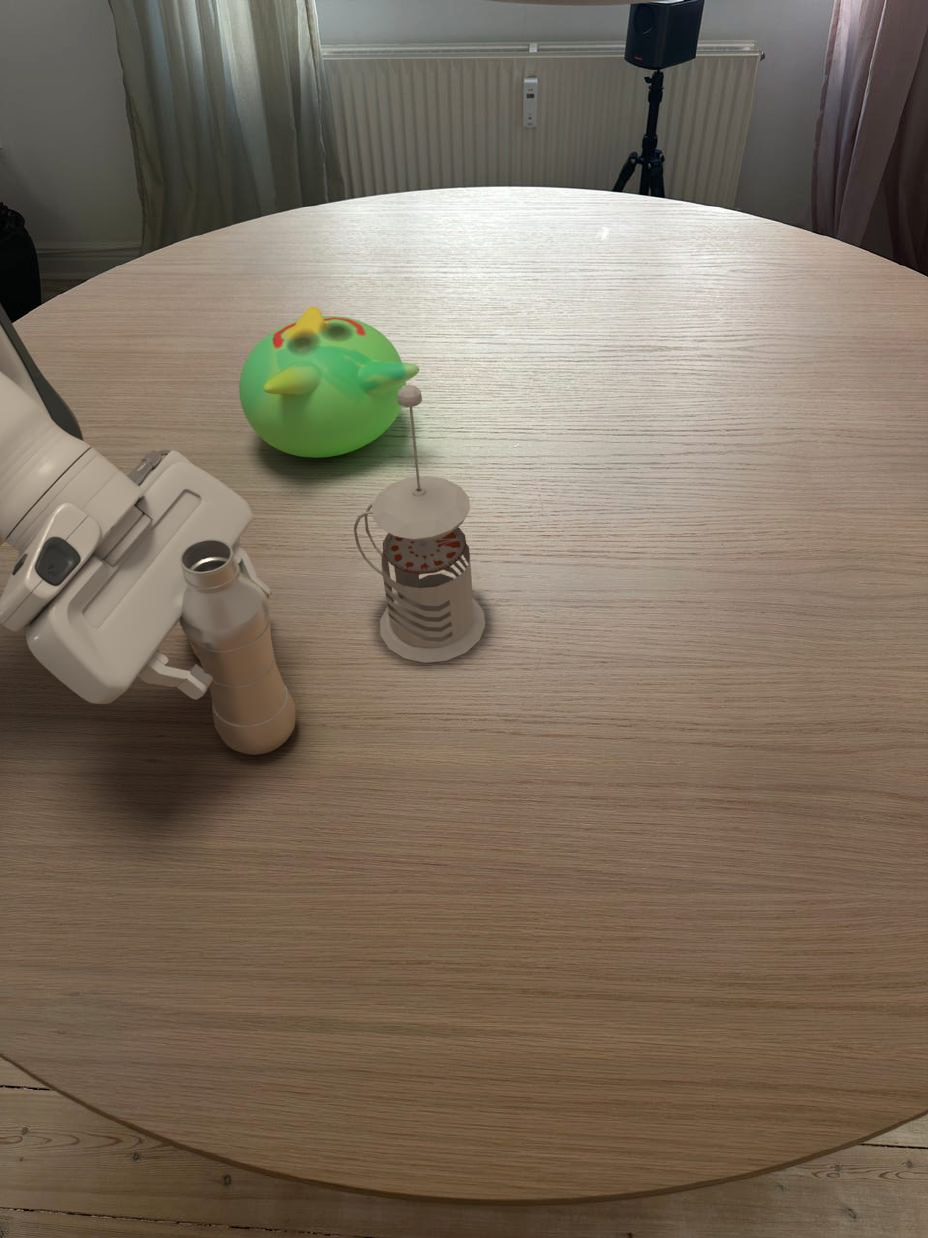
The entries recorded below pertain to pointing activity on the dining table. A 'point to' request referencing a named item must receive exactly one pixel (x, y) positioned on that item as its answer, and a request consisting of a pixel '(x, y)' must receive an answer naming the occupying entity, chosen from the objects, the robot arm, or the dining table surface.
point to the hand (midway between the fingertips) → (236, 644)
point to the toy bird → (322, 385)
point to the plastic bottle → (235, 649)
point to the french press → (425, 563)
